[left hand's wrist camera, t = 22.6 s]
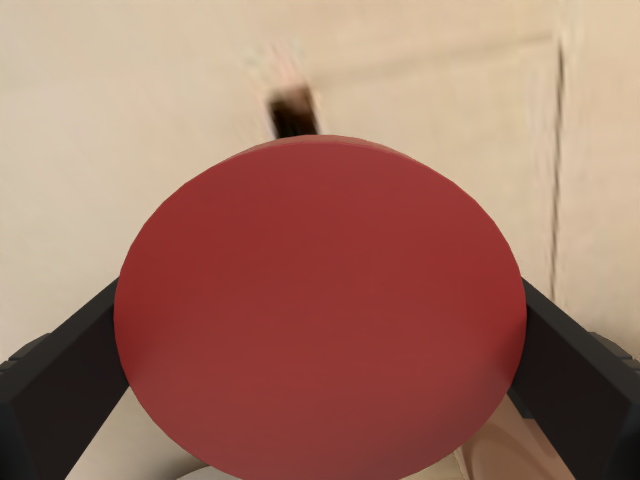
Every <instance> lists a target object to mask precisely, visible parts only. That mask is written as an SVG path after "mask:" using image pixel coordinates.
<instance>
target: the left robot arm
mask: <svg viewBox="0 0 640 480" xmlns="http://www.w3.org/2000/svg"><path fill="white" fill-rule="evenodd" d="M521 279H522V283H523V287H524V290H525V299H526V310H527V323H526V338H525V342H524V347H523V351H522V355H521V360H520V364H519V366H518V369H517V371H516V374H515V377H514V379H513V382H512V384H511V387H512V388H513V389H514V391H515V392H516V394H517V395H518V397H519V398H520V400H521V401H522V403H523V404H524V405H525V407H526V408H527V410H528V411H529V413H530V414H531V416H532V417H533V418H534V420H535V421H536V423H537V424H538V426H539V427H540V429H541V430H542V432H543V433H544V434H545V436H546V437H547V439H548V440H549V442H550V443H551V445H552V446H553V447H554V449H555V450H556V452H557V453H558V455H559V456H560V458H561V459H562V461H563V462H564V463H565V465H566V466H567V468H568V469H569V471H570V472H571V474H572V475H573V476H574V478H575V479H576V480H640V363H639V362H638V361H637V360H633V359H632V356H631V355H629V354H628V353H627V352H626V351H624V350H623V349H622V348H620V347H619V346H618V345H617V344H615V343H614V342H612V341H610V340H608V339H606V338H604V337H602V336H600V335H598V334H596V333H594V332H587V331H586V330H585V329H584V328H583V327H581V326H580V325H579V324H578V323H577V322H575V321H574V320H573V319H572V318H570V317H569V316H568V315H567V314H566V313H564V312H563V311H562V310H561V309H560V308H558V307H557V306H556V305H555V304H554V303H552V302H551V301H550V300H549V299H548V298H546V297H545V296H544V295H543V294H542V293H540V292H539V291H538V290H537V289H536V288H534V287H533V286H532V285H531V284H530V283H528V282H527V281H526V280H525V279H524V278H522V277H521ZM118 280H119V277H118V278H117V279H115V280H114V281H113V282H112V283H111V284H109V285H108V286H107V287H106V288H105V289H103V290H102V291H101V292H100V293H99V294H97V295H96V296H95V297H94V298H93V299H91V300H90V301H89V302H88V303H87V304H85V305H84V306H83V307H82V308H81V309H79V310H78V311H77V312H76V313H75V314H73V315H72V316H71V317H70V318H69V319H67V320H66V321H65V322H64V323H63V324H61V325H60V326H59V327H58V328H57V329H55V330H54V331H53V332H52V333H47V334H45V335H43V336H41V337H39V338H37V339H35V340H33V341H31V342H30V343H28V344H26V345H24V346H23V347H22V348H21V349H19V350H18V351H17V352H16V353H14V354H13V355H12V356H11V357H9V360H8V361H4V362H3V363H2V364H1V365H0V480H65V478H66V477H67V475H68V474H69V472H70V471H71V470H72V468H73V467H74V465H75V464H76V462H77V461H78V459H79V458H80V457H81V455H82V454H83V452H84V451H85V449H86V448H87V446H88V445H89V443H90V442H91V441H92V439H93V438H94V436H95V435H96V433H97V432H98V430H99V429H100V428H101V426H102V425H103V423H104V422H105V420H106V419H107V417H108V416H109V414H110V413H111V412H112V410H113V409H114V407H115V406H116V404H117V403H118V401H119V400H120V399H121V397H122V396H123V394H124V393H125V391H126V390H127V388H128V387H129V383H128V380H127V378H126V375H125V373H124V370H123V368H122V365H121V362H120V357H119V353H118V349H117V344H116V340H115V332H114V320H113V316H114V302H115V292H116V288H117V284H118Z"/></svg>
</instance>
